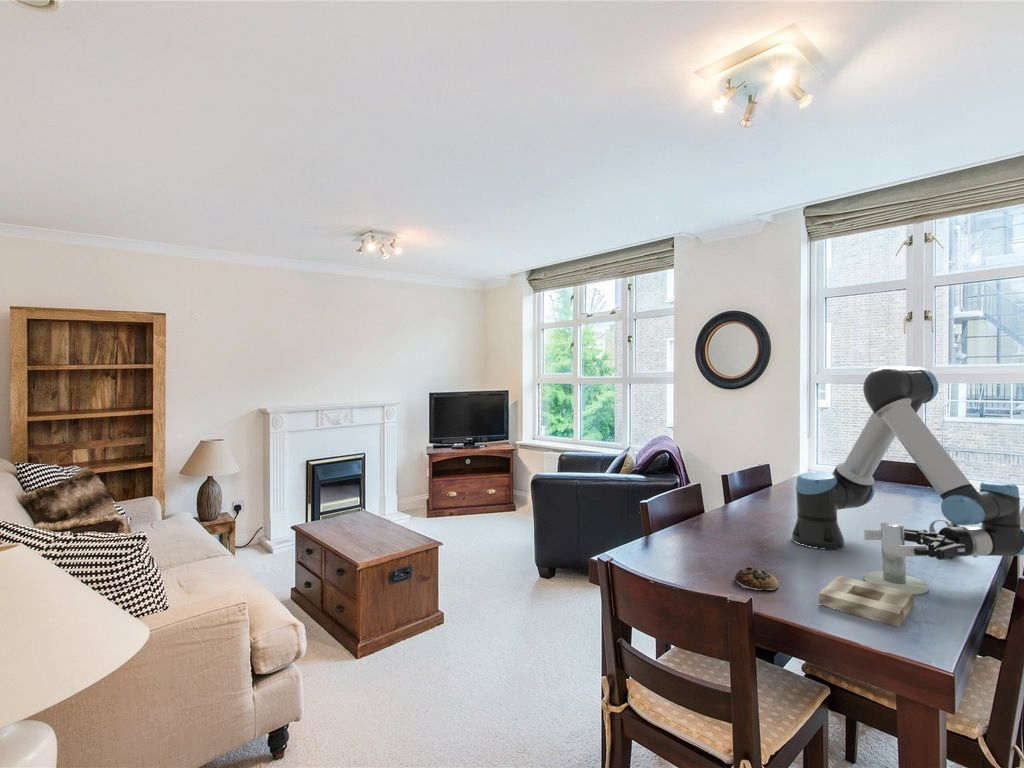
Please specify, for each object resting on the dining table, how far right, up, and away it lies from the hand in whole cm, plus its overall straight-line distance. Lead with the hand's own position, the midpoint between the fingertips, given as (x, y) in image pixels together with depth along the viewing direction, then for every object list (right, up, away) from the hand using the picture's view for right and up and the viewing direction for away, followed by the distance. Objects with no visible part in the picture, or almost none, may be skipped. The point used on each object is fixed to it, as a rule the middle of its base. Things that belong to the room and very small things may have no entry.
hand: (881, 542), depth 136 cm
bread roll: (-32, -13, +3) cm, 35 cm away
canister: (+4, -10, 0) cm, 11 cm away
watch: (+35, -10, +20) cm, 42 cm away
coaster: (+4, -11, 0) cm, 12 cm away
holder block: (-13, -12, -12) cm, 21 cm away
